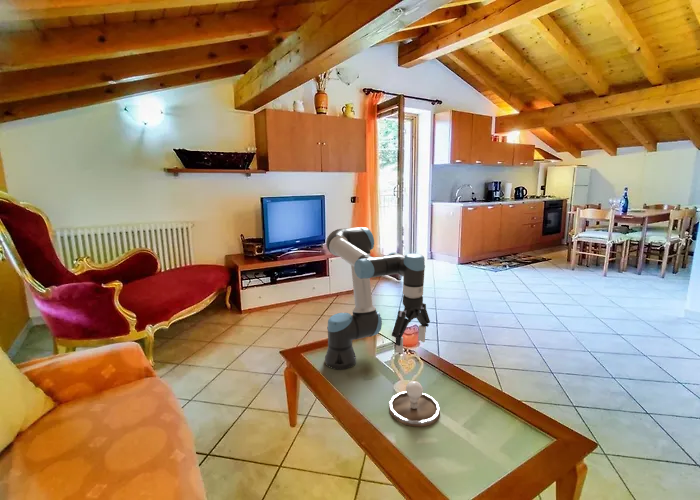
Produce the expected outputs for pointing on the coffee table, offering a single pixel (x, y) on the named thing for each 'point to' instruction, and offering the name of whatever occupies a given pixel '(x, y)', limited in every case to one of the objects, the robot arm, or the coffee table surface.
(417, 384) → the lightbulb
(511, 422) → the coffee table surface
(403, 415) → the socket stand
